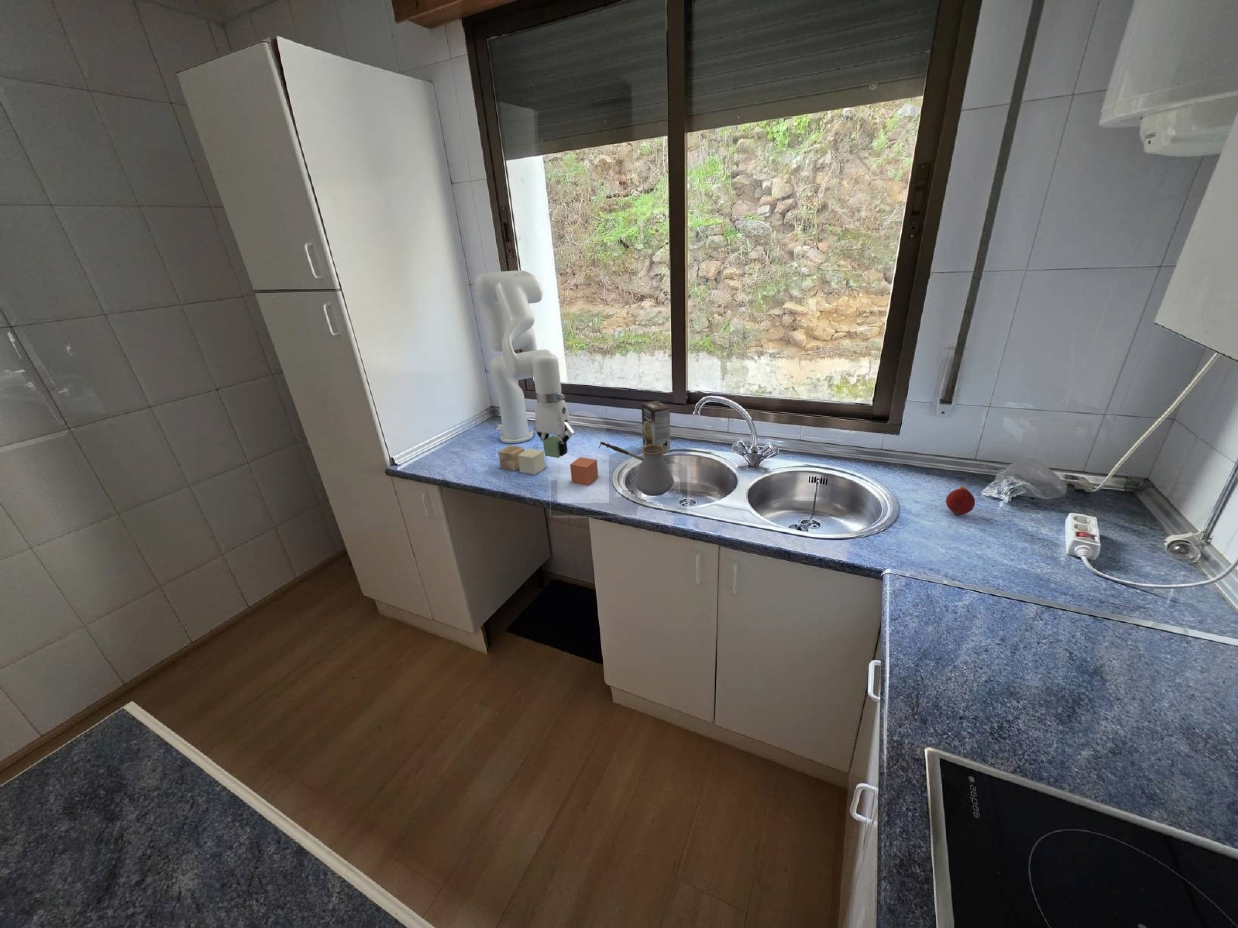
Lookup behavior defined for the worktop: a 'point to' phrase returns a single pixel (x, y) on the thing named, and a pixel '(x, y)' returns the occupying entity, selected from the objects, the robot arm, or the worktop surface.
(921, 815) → the worktop surface
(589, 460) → the block
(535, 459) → the block
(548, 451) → the green block
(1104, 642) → the worktop surface
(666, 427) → the coffee box
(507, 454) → the block
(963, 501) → the onion
